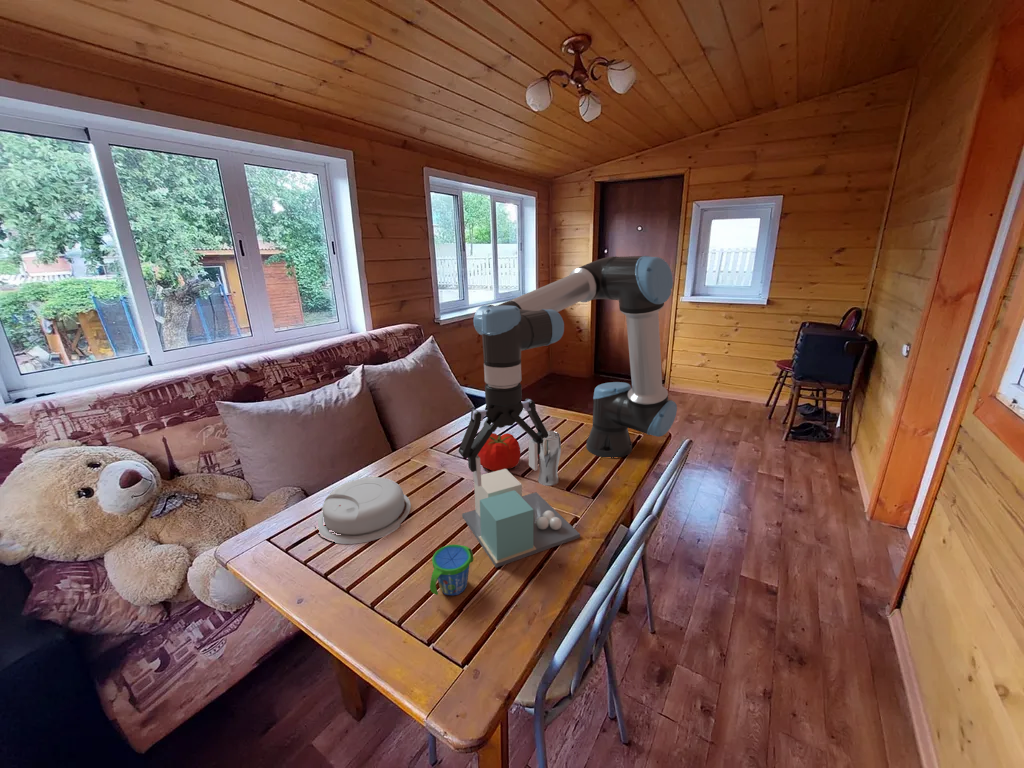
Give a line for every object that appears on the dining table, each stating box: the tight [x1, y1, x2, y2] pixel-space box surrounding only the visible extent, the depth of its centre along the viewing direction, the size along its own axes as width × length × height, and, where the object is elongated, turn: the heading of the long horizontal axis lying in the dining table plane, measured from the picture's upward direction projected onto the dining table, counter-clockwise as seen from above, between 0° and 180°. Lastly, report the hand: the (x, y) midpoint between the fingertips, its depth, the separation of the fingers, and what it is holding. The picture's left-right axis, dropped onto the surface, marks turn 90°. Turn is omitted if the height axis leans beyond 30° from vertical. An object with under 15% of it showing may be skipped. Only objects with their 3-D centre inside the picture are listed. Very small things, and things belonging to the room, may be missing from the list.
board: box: [461, 491, 581, 569], centre depth 106 cm, size 22×21×1 cm
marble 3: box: [549, 517, 562, 530], centre depth 103 cm, size 3×3×3 cm
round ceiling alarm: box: [318, 476, 412, 545], centre depth 112 cm, size 25×25×6 cm
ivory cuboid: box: [473, 469, 523, 516], centre depth 108 cm, size 9×9×10 cm
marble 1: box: [536, 517, 549, 530], centre depth 103 cm, size 3×3×3 cm
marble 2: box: [543, 510, 555, 522], centre depth 106 cm, size 3×3×3 cm
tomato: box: [478, 432, 521, 472], centre depth 134 cm, size 14×13×10 cm
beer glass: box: [537, 430, 562, 487], centre depth 125 cm, size 7×7×15 cm
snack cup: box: [429, 544, 474, 596], centre depth 86 cm, size 11×8×7 cm
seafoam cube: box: [480, 490, 533, 560], centre depth 97 cm, size 9×9×10 cm
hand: (506, 475), depth 93 cm, fingers open, 13 cm apart
